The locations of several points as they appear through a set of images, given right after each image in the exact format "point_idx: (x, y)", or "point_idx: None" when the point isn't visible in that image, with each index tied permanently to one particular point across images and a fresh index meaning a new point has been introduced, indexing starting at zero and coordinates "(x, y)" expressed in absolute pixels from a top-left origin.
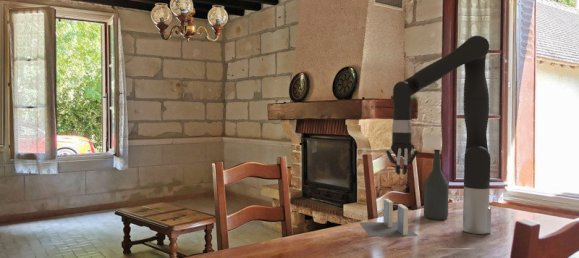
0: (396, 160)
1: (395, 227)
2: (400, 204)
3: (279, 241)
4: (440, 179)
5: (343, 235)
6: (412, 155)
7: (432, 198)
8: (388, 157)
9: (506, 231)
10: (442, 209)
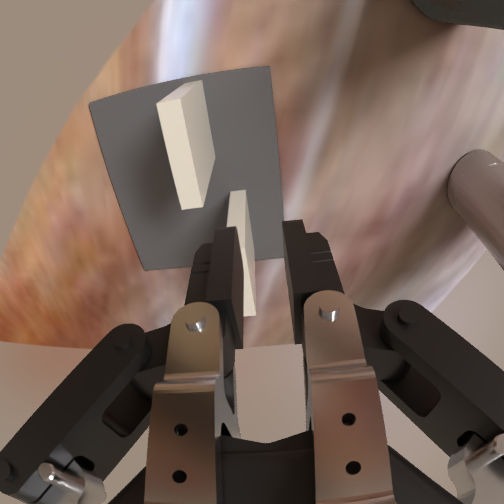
0: (188, 368)
1: (227, 157)
2: None
3: (4, 301)
4: None
5: (79, 257)
6: (442, 442)
7: (468, 7)
8: (63, 407)
9: None
10: (473, 25)
